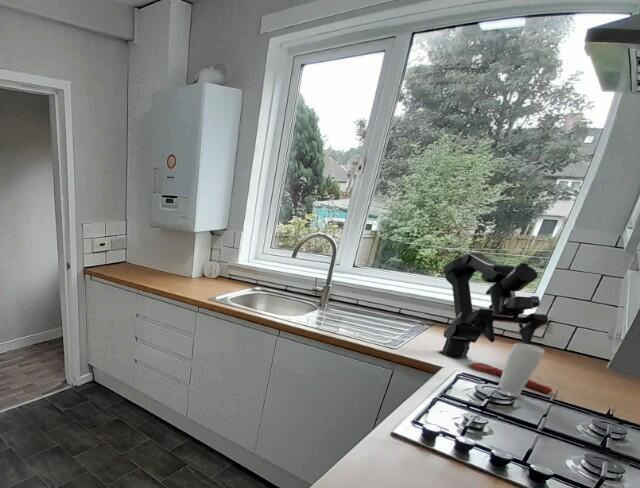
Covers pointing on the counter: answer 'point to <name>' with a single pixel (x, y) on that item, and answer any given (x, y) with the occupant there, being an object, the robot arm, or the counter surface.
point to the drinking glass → (520, 367)
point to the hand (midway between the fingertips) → (510, 343)
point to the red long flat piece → (499, 372)
